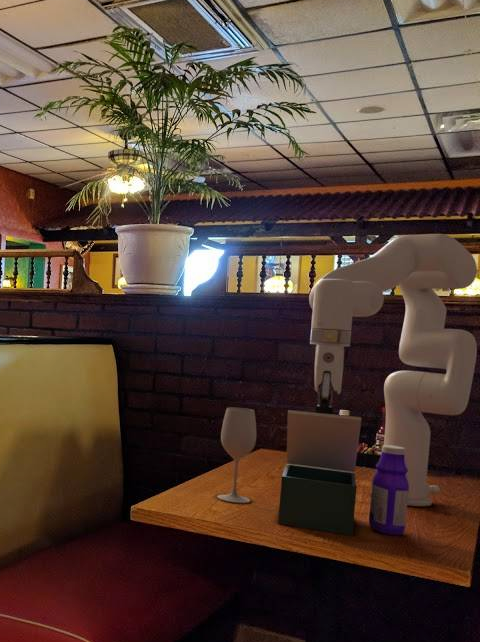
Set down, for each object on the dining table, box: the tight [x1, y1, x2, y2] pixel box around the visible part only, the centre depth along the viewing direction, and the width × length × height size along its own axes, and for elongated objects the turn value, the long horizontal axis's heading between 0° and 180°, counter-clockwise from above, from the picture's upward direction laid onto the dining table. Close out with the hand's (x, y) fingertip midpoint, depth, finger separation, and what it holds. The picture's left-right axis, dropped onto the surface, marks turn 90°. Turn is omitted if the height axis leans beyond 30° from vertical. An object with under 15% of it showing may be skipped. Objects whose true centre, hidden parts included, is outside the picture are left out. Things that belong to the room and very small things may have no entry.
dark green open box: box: [277, 463, 357, 536], centre depth 157 cm, size 17×14×10 cm
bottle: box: [368, 444, 409, 536], centre depth 151 cm, size 7×6×17 cm
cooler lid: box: [286, 409, 362, 473], centre depth 159 cm, size 18×14×1 cm
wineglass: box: [216, 406, 257, 504], centre depth 172 cm, size 8×8×21 cm
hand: (322, 425), depth 157 cm, fingers closed
